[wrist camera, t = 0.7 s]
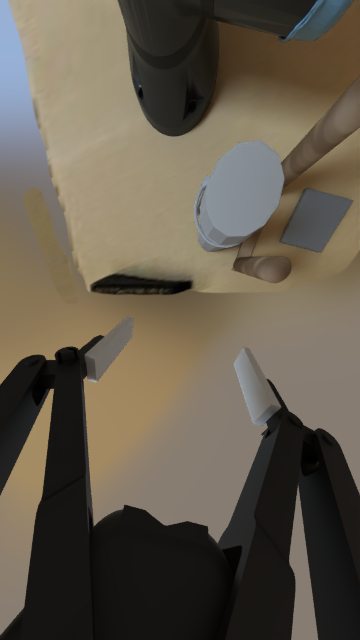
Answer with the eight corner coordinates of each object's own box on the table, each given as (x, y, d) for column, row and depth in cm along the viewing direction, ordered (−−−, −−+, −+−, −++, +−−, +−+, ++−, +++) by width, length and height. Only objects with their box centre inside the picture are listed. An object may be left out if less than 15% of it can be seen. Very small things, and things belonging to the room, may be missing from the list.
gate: (266, 174, 29) (367, 54, 12) (283, 178, 29) (407, 65, 12) (230, 269, 37) (259, 279, 20) (243, 272, 37) (282, 285, 20)
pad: (304, 189, 29) (307, 187, 28) (349, 201, 29) (353, 200, 28) (279, 241, 33) (280, 241, 33) (318, 252, 33) (320, 252, 33)
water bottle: (234, 235, 34) (310, 189, 11) (209, 259, 37) (231, 262, 14) (209, 203, 32) (243, 69, 9) (185, 232, 35) (166, 184, 12)
